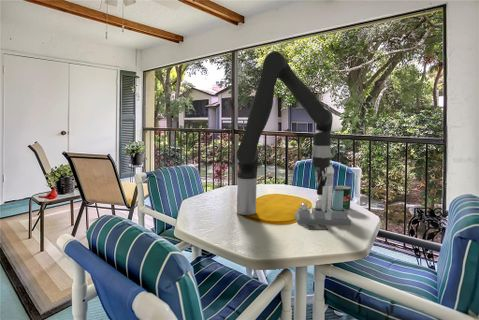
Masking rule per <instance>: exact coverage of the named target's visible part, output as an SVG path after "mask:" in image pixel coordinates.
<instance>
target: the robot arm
mask: <svg viewBox="0 0 479 320" xmlns="http://www.w3.org/2000/svg"><path fill="white" fill-rule="evenodd" d="M278 80H280V82H281V83H283V84H284V85H285V86H286V87H287V89H288V90H289V92H290V93H291V95H292V96H293V97H294V99H295V100H296V101H297V103H299V105H300V106H301V107H302V108H303V109H304V110H305V112H306V113H307V115H309V117H310V118H311V120H312V121H313V122H314V123H315V131H314V133H313V144H312V145H313V146H312V154H311V155H312V157H311V158H312V159H311V165H312V167H314V168H315V170H314V181H315V185H316V194H317V196H318V195H322V194H323V186H325V183H326V180H327V176H326V171H325V168H326V167H329V166H330V165H331V152H332V151H331V142H332V141H331V138H332V137H331V136H332V135H331V134H332V127H333V120H334V119H333V113H332V112H331V110H330V109H326V108H325V106H324V105H323V104H322V103H321V102H320V101H319V99H318V97H317V96H316V94H314V92H313V91H312V90H311V89H310V88H309V87H308V86H307V85H306V84H305V83H304V82H303V81H302V80H301V79H300V78H299V77H298V76H297V75H296V74H295V72H294V71H293V69H292V67H291V66H290V65H289V63H288V60H287V59H286V57H285V56H284V55H283V54H282V53H281V52H279V51H275V50H273V51H270V52H268V54H267V55H266V56H265V58H264V60H263V63H262V68H261V73H260V78H259V82H258V84H257V88H256V90H255V94H254V97H253V100H252V102H251V107H250V109H249V113H248V116H247V120H246V125H245V130H244V133H243V136H242V138H241V140H240V143H239V146H238V148H237V150H236V159H237V161H238V169H237V177H236V180H237V181H236V182H237V183H236V186H237V189H236V214H237V215H238V214H239V215H243V216H250V215H252V216H253V215H255V214H256V213H257V190H258V189H257V187H258V186H257V184H258V183H257V182H258V181H257V180H258V178H257V177H258V176H257V175H258V167H259V151H258V145H259V141H260V138H261V136H262V134H263V132H264V130H265V127H266V125H267V123H268V121H269V119H270V116H271V113H272V110H273V105H274V100H275V99H274V97H275V96H274V95H275V87H276V83H277V81H278Z"/></svg>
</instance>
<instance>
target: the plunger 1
mask: <svg viewBox="0 0 479 320" xmlns="http://www.w3.org/2000/svg"><path fill="white" fill-rule="evenodd" d="M300 208H301V210H307V208H308V203H305V202H301V203H300Z"/></svg>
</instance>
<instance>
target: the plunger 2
mask: <svg viewBox="0 0 479 320" xmlns="http://www.w3.org/2000/svg"><path fill="white" fill-rule="evenodd" d="M314 206H315V207H314V208H315V211H322V199H318V198H316V199H315V205H314Z"/></svg>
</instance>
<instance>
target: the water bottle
mask: <svg viewBox="0 0 479 320" xmlns="http://www.w3.org/2000/svg"><path fill="white" fill-rule="evenodd" d="M325 171H326V176H327V180H326V183H325V186H323V194H322V195H318V194H317V197H318V198H317V199H322V208H323V209H324V211H325V213H327V207H332V202H333V190H334V176H335V175H334V174H335V169H334V167H333V166H332V164H330V166H329V167H326V168H325Z"/></svg>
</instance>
